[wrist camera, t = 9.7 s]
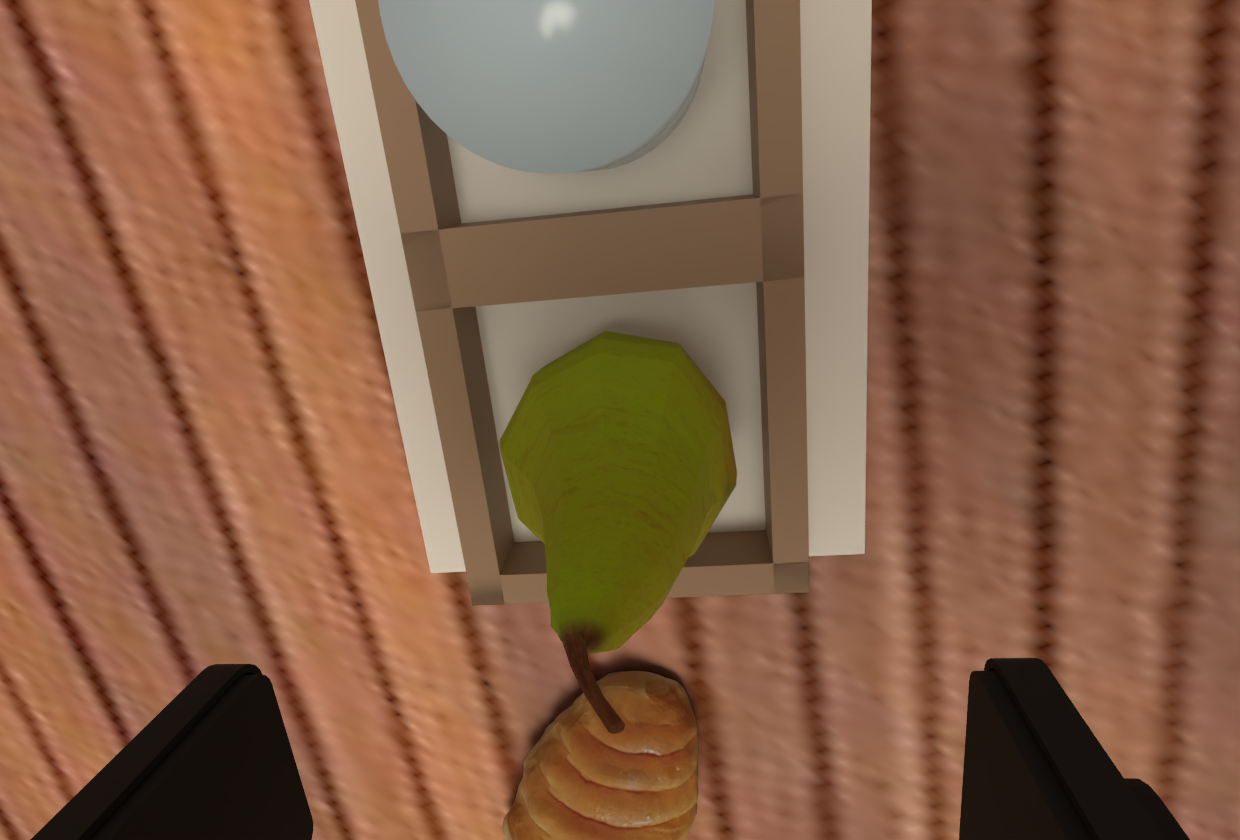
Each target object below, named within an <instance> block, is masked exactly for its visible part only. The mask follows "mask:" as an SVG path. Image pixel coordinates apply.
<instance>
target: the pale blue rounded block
mask: <svg viewBox="0 0 1240 840" xmlns="http://www.w3.org/2000/svg"><path fill="white" fill-rule="evenodd" d="M378 3H379V11H380V17H381V21H382V25H383V29H384V33H385V37H386V41H387V44H388V46H389V49H390V52H391V54H392V57H393V60H394V63H395V65H396V67H397V69H398V71H399V73H400V75H401V77H402V79H403V81H404V83H405V84H406V86H407V88H408V89H409V91H410V92H411V94H412V95H413V97H414V98H415V100H416V101H417V103H418V104H419V105H420V107H421V108H422V109H423V110H424V111H425V113H426V114H427V115H428V116H429V117H430V119H431V120H432V121H433V122H434V123H435V124H436V125H437V126H438V127H439V128H440V129H442V130H443V131H444V132H445V133H446V134H447V135H448V136H449V137H450V138H452V139H453V140H455V141H456V142H457V143H459V144H460V145H461V146H463V147H464V148H465V149H467V150H469V151H471V152H473V153H474V154H476V155H478V156H480V157H482V158H483V159H485V160H488V161H491V162H493V163H496V164H498V165H501V166H503V167H507V168H511V169H515V170H519V171H523V172H532V173H542V174H551V173H572V172H586V171H600V170H606V169H611V168H616V167H619V166H622V165H625V164H628V163H630V162H632V161H634V160H636V159H638V158H641V157H642V156H644V155H645V154H647V153H648V152H650V151H651V150H653V149H654V148H656V147H657V146H658V145H659V144H660V143H661V142H663V141H664V140H665V139H666V138H667V137H668V136H669V135H670V134H671V132H672V131H673V130H674V129H675V128H676V127H677V125H678V124H679V123H680V121H681V120H682V118H683V117H684V115H685V114H686V112H687V110H688V108H689V106H690V104H691V102H692V101H693V99H694V96H695V93H696V91H697V88H698V85H699V83H700V79H701V75H702V71H703V66H704V62H705V56H706V51H707V46H708V41H709V36H710V30H711V25H712V19H713V11H714V3H715V0H378Z"/></svg>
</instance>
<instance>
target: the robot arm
mask: <svg viewBox="0 0 1240 840" xmlns="http://www.w3.org/2000/svg"><path fill="white" fill-rule="evenodd" d="M312 834H313V820H312V816H311V812H310V809H309V806H308V802H307V799H306V796H305V792H304V789H303V786H302V782H301V779H300V776H299V773H298V769H297V766H296V763H295V759H294V756H293V753H292V749H291V746H290V743H289V739H288V736H287V733H286V729H285V726H284V723H283V719H282V716H281V713H280V710H279V706H278V703H277V700H276V696H275V693H274V690H273V686H272V683H271V681H270V679H269V678H268V677H267V676H265V675H262V673H261V671H260V669H259V668H258V667H257V666H255V665H252V664H215V665H211V666H208V667H207V668H206V669H204V670H203V671H202V672H201V673H200V674H199V675H198V676H197V677H196V678H195V679H194V680H193V681H192V682H191V683H190V684H189V685H188V686H187V687H186V688H185V689H184V690H182V691H181V692H180V693H179V694H178V695H177V696H176V697H175V698H174V699H173V700H172V701H171V702H170V703H169V704H168V705H167V706H166V707H165V708H164V709H163V710H162V711H161V712H160V713H159V714H158V715H157V716H156V717H155V718H154V719H153V720H152V721H151V722H150V723H149V724H148V725H147V726H146V727H145V728H144V729H143V730H142V731H141V732H140V733H139V734H138V735H137V736H136V737H135V738H134V739H133V740H132V741H131V742H130V743H129V744H128V745H127V746H125V747H124V748H123V749H122V750H121V751H120V752H119V753H118V754H117V755H116V756H115V757H114V758H113V759H112V760H111V761H110V762H109V763H108V764H107V765H106V766H105V767H104V768H103V769H102V770H101V771H100V772H99V773H98V774H97V775H96V776H95V777H94V778H93V779H92V780H91V781H90V782H89V783H88V784H87V785H86V786H85V787H84V788H83V789H82V790H81V791H80V792H79V793H78V794H77V795H76V796H75V797H74V798H73V799H72V800H71V801H70V802H68V803H67V804H66V805H65V806H64V807H63V808H62V809H61V810H60V811H59V812H58V813H57V814H56V815H55V816H54V817H53V818H52V819H51V820H50V821H49V822H48V823H47V824H46V825H45V826H44V827H43V828H42V829H41V830H40V831H39V832H38V833H37V834H36V835H35V836H34V837H33V838H32V839H31V840H311V839H312ZM959 840H1190V839H1189V838H1188V836H1187V835H1186V834H1185V832H1184V831H1183V829H1182V828H1181V827H1180V825H1179V824H1178V822H1177V821H1176V820H1175V818H1174V817H1173V815H1172V814H1171V813H1170V811H1169V810H1168V808H1167V807H1166V806H1165V804H1164V803H1163V802H1162V800H1161V799H1160V797H1159V796H1158V795H1157V794H1156V793H1155V792H1154V791H1153V789H1152V788H1151V787H1150V786H1149V785H1148V784H1146V783H1145V782H1143V781H1141V780H1140V779H1124V778H1123V777H1122V775H1121V774H1120V772H1119V771H1118V769H1117V768H1116V766H1115V765H1114V763H1113V762H1112V761H1111V759H1110V758H1109V756H1108V755H1107V753H1106V752H1105V750H1104V749H1103V747H1102V746H1101V744H1100V743H1099V741H1098V740H1097V739H1096V737H1095V736H1094V734H1093V733H1092V731H1091V730H1090V728H1089V727H1088V725H1087V724H1086V722H1085V721H1084V719H1083V718H1082V717H1081V715H1080V714H1079V712H1078V711H1077V709H1076V708H1075V706H1074V705H1073V703H1072V702H1071V700H1070V699H1069V697H1068V696H1067V695H1066V693H1065V692H1064V690H1063V689H1062V687H1061V686H1060V684H1059V683H1058V681H1057V680H1056V678H1055V677H1054V675H1053V674H1052V672H1051V671H1050V670H1049V668H1048V667H1047V665H1046V664H1045V663H1044V662H1043V661H1042V660H1040V659H1038V658H991V659H988V660H987V662H986V664H985V668H984V671H973V672H972V673H971V675H970V680H969V694H968V710H967V725H966V741H965V756H964V772H963V787H962V803H961V818H960V833H959Z"/></svg>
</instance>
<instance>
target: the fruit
mask: <svg viewBox="0 0 1240 840" xmlns="http://www.w3.org/2000/svg"><path fill="white" fill-rule="evenodd" d="M499 442H500V451H501V455H502V459H503V463H504V467H505V471H506V475H507V479H508V483H509V487H510V490H511V494H512V498H513V502H514V506H515V510H516V513H517V516H518V519H519V520H520V521H521V522H522V523H523V524H524V525H525V526H526V527H527V528H528V529H529V530H530V531H531V532H532V533H534V534H535V535H536V536H537V537H538V538H539V539H540V540H541V541H542V542H543V543H544V544H545V553H546V564H547V595H548V600H549V604H550V608H551V626H552V628H553V629H554V630H555V632H556V633H557V634H558V636H559V638H560V640H561V641H562V642H563V645H564V648H565V651H566V654H567V657H568V660H569V663H570V666H571V668H572V670H573V672H574V674H575V676H576V678H577V680H578V682H579V684H580V687H581V689H582V691H583V693H584V695H585V697H586V698H587V700H588V701H589V703H590V704H591V706H592V707H593V709H594V710H595V712H596V714H597V715H598V717H599V718H600V720H601V721H602V723H603V724H604V726H605V727H606V729H607V730H608V732H609V733H612V734H616V733H620V732H622V731H623V730H624V727H625V724H624V722H623V721H622V720H621V718H620V717H619V716H618V714H617V713H616V712H615V710H614V709H613V708H612V706H611V705H610V704H609V702H608V701H607V700H606V699H605V697H604V696H603V694H602V692H601V690H600V688H599V686H598V684H597V682H596V679H595V677H594V675H593V673H592V671H591V669H590V667H589V661H588V654H587V652H591V653H597V652H606V651H611V650H614V649H617V648H620V647H621V646H622V645H623V644H624V643H625V642H626V641H627V640H628V639H629V638H630V637H631V636H632V635H633V634H634V633H635V632H636V631H637V630H638V629H639V628H641V627H642V626H643V625H644V624H645V623H646V622H647V621H648V620H649V619H651V617H652V616H653V615H654V614H655V612H656V611H657V610H658V609H659V607H660V606H661V605H662V604H663V602H664V600H665V599H666V597H667V595H668V593H669V592H670V590H671V588H672V586H673V584H674V583H675V581H676V579H677V577H678V576H679V574H680V572H681V570H682V568H683V567H684V565H685V563H686V561H687V559H688V558H689V557H691V556H692V555H694V554H695V552H696V551H697V549H698V548H699V546H700V545H701V543H702V541H703V540H704V538H705V536H706V535H707V533H708V531H709V530H710V528H711V526H712V525H713V523H714V521H715V520H716V518H717V516H718V515H719V513H720V511H721V510H722V508H723V506H724V505H725V503H726V501H727V500H728V498H729V496H730V495H731V493H732V491H733V490H734V488H735V486H736V480H737V468H736V462H735V456H734V450H733V444H732V438H731V432H730V426H729V420H728V414H727V407H726V402H725V400H724V399H723V398H722V397H721V395H720V394H719V393H718V391H717V390H716V389H715V388H714V386H713V385H712V384H711V383H710V381H709V380H708V379H707V378H706V376H705V375H704V374H703V373H702V371H701V370H700V369H699V368H698V366H697V365H696V364H695V363H694V361H693V360H692V359H691V357H690V356H689V355H688V354H687V352H686V351H685V350H684V349H683V347H682V346H681V345H680V344H679V343H674V342H668V341H662V340H656V339H651V338H645V337H639V336H633V335H627V334H622V333H616V332H610V331H604V332H602V333H601V334H599V335H597V336H595V337H594V338H592V339H590V340H589V341H587V342H585V343H583V344H582V345H580V346H578V347H577V348H575V349H573V350H571V351H570V352H568V353H566V354H565V355H563V356H561V357H559V358H558V359H556V360H554V361H553V362H551V363H549V364H547V365H546V366H544V367H542V368H541V369H540V370H539V371H538V372H536V373H535V374H534V375H533V376H532V378H531V380H530V382H529V384H528V386H527V388H526V390H525V392H524V394H523V396H522V398H521V400H520V402H519V404H518V406H517V408H516V409H515V411H514V413H513V415H512V417H511V419H510V421H509V423H508V425H507V427H506V429H505V431H504V433H503V435H502V437H501V439H500V441H499Z"/></svg>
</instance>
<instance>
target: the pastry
mask: <svg viewBox="0 0 1240 840" xmlns="http://www.w3.org/2000/svg"><path fill="white" fill-rule="evenodd" d="M596 682H597V684H598V686H599V688H600V690H601V692H602V694H603V696H604V697H605V699H606V700H607V701H608V702H609V704H610V705H611V706H612V708H613V709H614V710H615V712H616V713H617V714H618V716H619V717H620V718H621V720H622V721H623V722H624V724H625V727H624V730H623V731H622V732H620V733H616V734H612V733H609V732H608V730H607V729H606V727H605V726H604V724H603V723H602V721H601V720H600V718H599V717H598V715H597V714H596V712H595V710H594V709H593V707H592V706H591V704H590V703H589V701H588V700H587V698H586V697H585V695H584V693H582V694H581V696H579V697H578V698H576V700H575V701H574V703H573V704H572V705H571V706H570V707H569V708H567V709H566V710H564V711H563V712H562V713H560V714H559V715H558V716H557V717H556V719H555V720H554V721H553V722H552V723H550V724H549V725H548V726H547V727H546V729H545V732H544V735H543V736H542V737H541V739H540V740H539V741H538V742H537V743H536V745H535V746H534V747H533V748H532V749H531V750H530V751H529V753H528V754H527V756H526V757H525V759H524V763H523V767H524V769H523V778H522V780H521V782H520V784H519V786H518V790H517V794H516V798H515V801H514V803H513V805H512V807H511V809H510V810H509V812H508V813H507V814H506V816H505V818H504V821H503V832H504V836H505V838H506V840H686V837H687V833H688V831H689V829H690V827H691V825H692V823H693V821H694V818H695V816H696V814H697V797H698V785H697V776H698V762H697V755H698V733H697V731H698V730H697V724H696V719H695V715H694V713H693V710H692V707H691V705H690V701H689V698H688V695H687V693H686V691H685V689H684V688H683V687H682V686H681V685H680V684H679V683H678V682H677V681H676V680H672V679H669V678H665V677H663V676H661V675H658V674H654V673H651V672H646V671H622V672H613V673H609V674H607V675H606V676H604V677H603V678H601V679H600V680H598V681H596Z"/></svg>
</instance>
